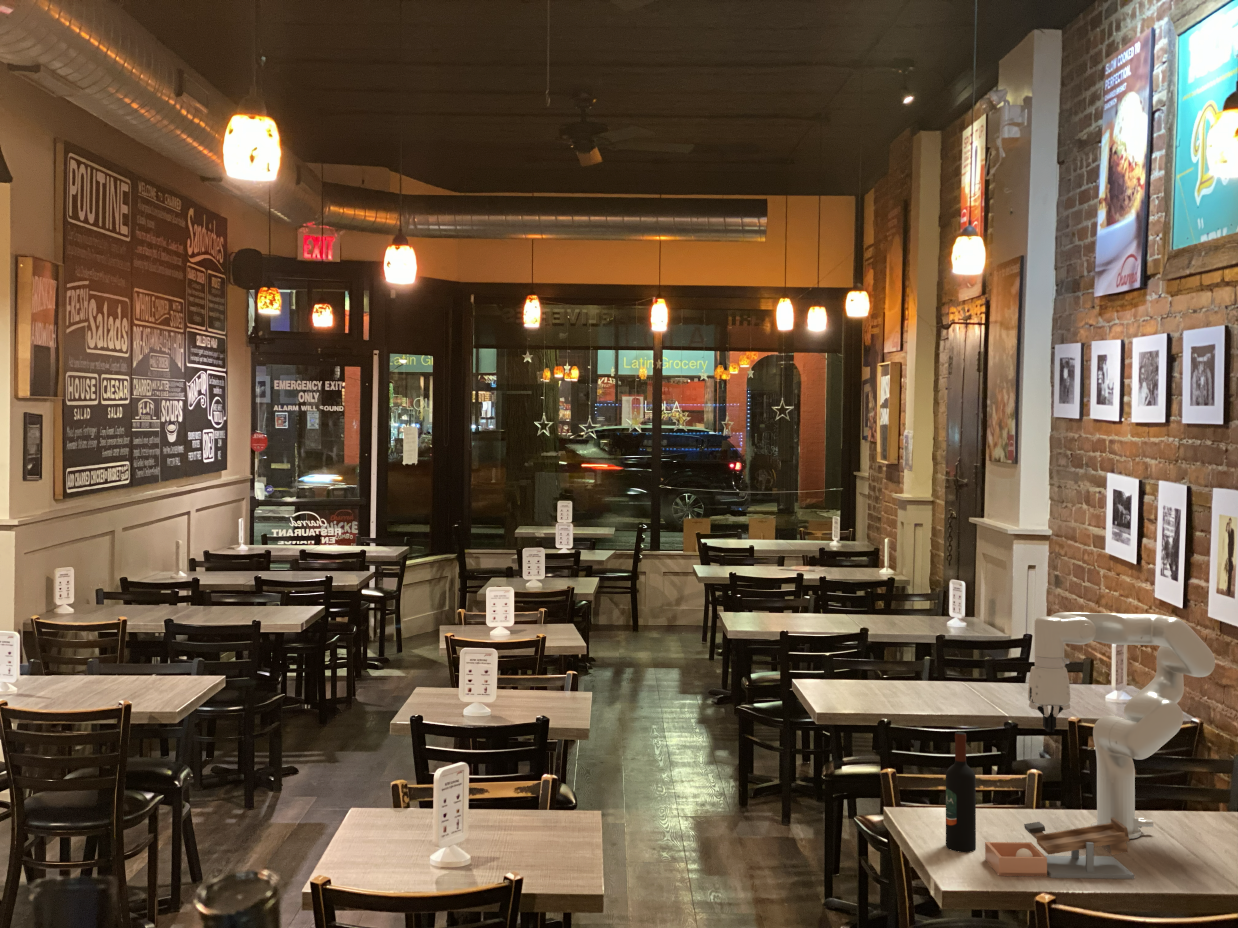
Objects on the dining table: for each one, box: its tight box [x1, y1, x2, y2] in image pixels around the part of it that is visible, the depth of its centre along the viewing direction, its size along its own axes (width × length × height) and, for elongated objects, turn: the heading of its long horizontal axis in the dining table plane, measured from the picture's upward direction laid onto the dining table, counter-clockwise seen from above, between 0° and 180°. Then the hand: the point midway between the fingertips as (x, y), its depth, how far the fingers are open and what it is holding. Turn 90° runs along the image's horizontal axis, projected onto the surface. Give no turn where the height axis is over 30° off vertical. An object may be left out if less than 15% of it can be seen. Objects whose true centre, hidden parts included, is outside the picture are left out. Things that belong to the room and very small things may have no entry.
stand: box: [1043, 842, 1135, 880], centre depth 278 cm, size 20×13×8 cm, turn 88°
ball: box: [1016, 848, 1033, 857], centre depth 279 cm, size 4×4×4 cm
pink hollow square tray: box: [984, 841, 1048, 878], centre depth 279 cm, size 12×12×4 cm
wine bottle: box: [945, 731, 977, 853], centre depth 294 cm, size 8×8×30 cm
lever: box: [1023, 818, 1130, 856], centre depth 283 cm, size 20×17×6 cm
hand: (1049, 730), depth 301 cm, fingers closed
